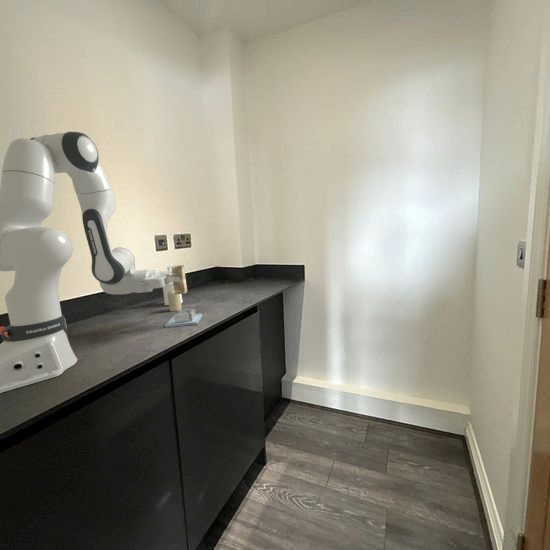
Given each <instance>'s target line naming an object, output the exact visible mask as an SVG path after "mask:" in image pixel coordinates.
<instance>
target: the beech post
mask: <svg viewBox="0 0 550 550" xmlns="http://www.w3.org/2000/svg"><path fill="white" fill-rule="evenodd" d="M171 270H172V277H180V281H179V282H173V286H174V293H175V294H182V295H185V294H186V293H187V292H188V285H187V279H186V273H185V272H186V271H185V265H184V264H178V265H177V264H174V265H172V266H171Z"/></svg>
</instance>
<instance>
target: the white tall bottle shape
mask: <svg viewBox="0 0 550 550" xmlns="http://www.w3.org/2000/svg"><path fill="white" fill-rule="evenodd" d="M171 267H172V266H171V265H167V271H172V270H171ZM172 289H174V286H173V283H169V284H167V285H166V286H164V287H162V290H163V299H164V306H166V305H169V302H168V295H167V293H168V292H169V290H172ZM182 295H183V294H180V299H181V304H183V303H184V301H183V296H182ZM182 302H183V303H182Z"/></svg>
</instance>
